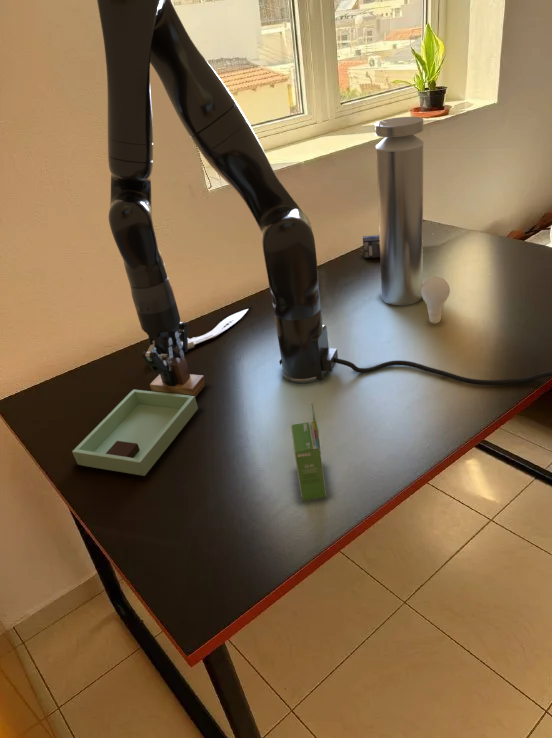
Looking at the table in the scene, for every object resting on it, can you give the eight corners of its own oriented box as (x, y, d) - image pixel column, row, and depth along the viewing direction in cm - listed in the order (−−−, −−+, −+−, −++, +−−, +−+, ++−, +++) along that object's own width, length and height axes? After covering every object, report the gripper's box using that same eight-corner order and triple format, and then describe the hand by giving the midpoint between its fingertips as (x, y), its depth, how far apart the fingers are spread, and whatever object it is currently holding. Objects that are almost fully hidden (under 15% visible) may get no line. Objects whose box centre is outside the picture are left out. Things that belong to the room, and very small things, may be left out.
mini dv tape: (363, 258, 167) (362, 237, 163) (364, 256, 168) (363, 236, 164) (392, 256, 165) (391, 236, 161) (392, 254, 166) (392, 234, 163)
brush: (206, 387, 119) (198, 356, 114) (195, 401, 115) (186, 369, 111) (165, 383, 122) (156, 353, 118) (153, 396, 118) (143, 365, 114)
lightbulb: (418, 328, 128) (418, 282, 122) (424, 316, 133) (424, 271, 127) (445, 330, 126) (447, 284, 120) (451, 317, 131) (452, 272, 124)
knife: (247, 305, 147) (264, 313, 142) (248, 311, 148) (265, 320, 142) (139, 346, 133) (153, 357, 128) (141, 352, 134) (155, 363, 129)
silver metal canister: (429, 291, 143) (431, 116, 121) (412, 308, 137) (411, 126, 114) (392, 285, 149) (387, 117, 126) (374, 302, 142) (366, 127, 119)
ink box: (298, 471, 94) (287, 405, 86) (321, 468, 94) (313, 401, 86) (301, 501, 88) (290, 433, 81) (327, 498, 88) (318, 429, 81)
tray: (198, 410, 112) (194, 395, 110) (145, 478, 97) (139, 462, 95) (138, 403, 117) (133, 389, 115) (78, 467, 102) (71, 451, 100)
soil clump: (140, 450, 103) (137, 443, 102) (126, 466, 99) (123, 459, 99) (119, 447, 104) (117, 440, 103) (105, 463, 101) (102, 456, 100)
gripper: (152, 321, 100) (175, 401, 110) (190, 287, 111) (208, 363, 121) (117, 319, 103) (142, 397, 113) (157, 286, 114) (178, 360, 123)
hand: (176, 379), depth 117 cm, fingers closed on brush, 3 cm apart
